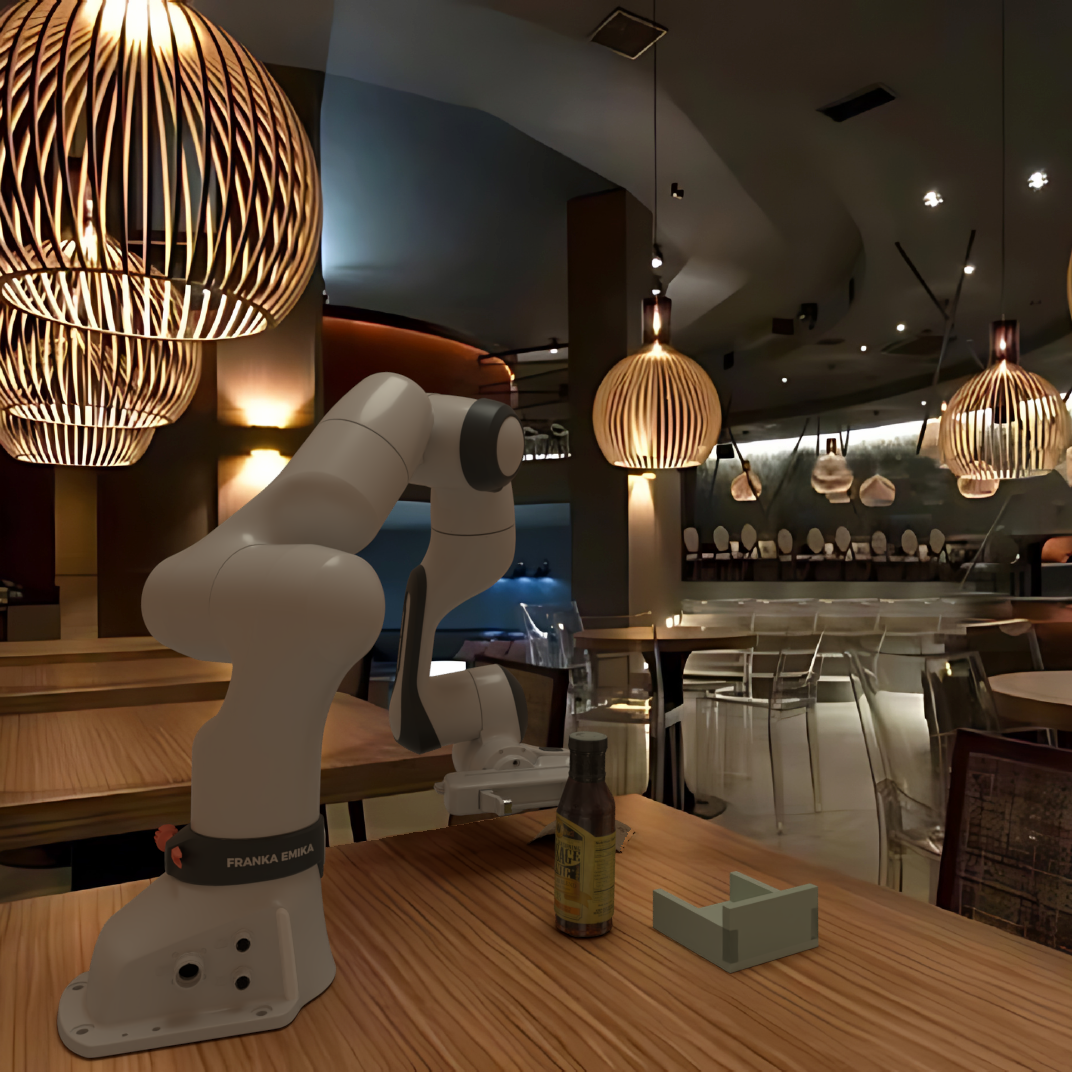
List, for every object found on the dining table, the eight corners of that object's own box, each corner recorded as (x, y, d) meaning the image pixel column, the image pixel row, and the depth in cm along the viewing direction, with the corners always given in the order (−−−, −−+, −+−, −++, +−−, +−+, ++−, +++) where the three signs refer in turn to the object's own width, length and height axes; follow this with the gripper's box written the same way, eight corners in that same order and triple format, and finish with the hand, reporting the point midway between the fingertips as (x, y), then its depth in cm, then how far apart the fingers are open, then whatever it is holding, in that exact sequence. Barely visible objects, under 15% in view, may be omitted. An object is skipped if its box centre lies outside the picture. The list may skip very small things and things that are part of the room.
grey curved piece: (522, 849, 116) (522, 828, 116) (541, 827, 126) (541, 808, 126) (630, 859, 112) (630, 838, 112) (640, 835, 122) (641, 816, 122)
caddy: (729, 973, 80) (729, 909, 80) (652, 927, 90) (652, 870, 90) (818, 946, 85) (818, 886, 86) (736, 906, 95) (736, 852, 96)
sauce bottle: (544, 920, 91) (545, 729, 92) (599, 912, 93) (599, 726, 94) (569, 946, 85) (569, 741, 86) (626, 936, 87) (626, 737, 88)
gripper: (430, 758, 111) (458, 785, 98) (578, 747, 118) (623, 770, 105) (430, 808, 110) (457, 841, 97) (578, 794, 117) (623, 823, 104)
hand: (544, 804), depth 101 cm, fingers open, 8 cm apart
